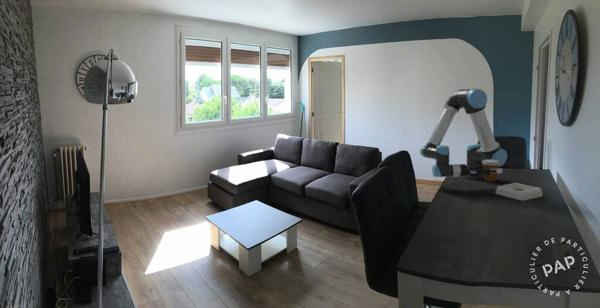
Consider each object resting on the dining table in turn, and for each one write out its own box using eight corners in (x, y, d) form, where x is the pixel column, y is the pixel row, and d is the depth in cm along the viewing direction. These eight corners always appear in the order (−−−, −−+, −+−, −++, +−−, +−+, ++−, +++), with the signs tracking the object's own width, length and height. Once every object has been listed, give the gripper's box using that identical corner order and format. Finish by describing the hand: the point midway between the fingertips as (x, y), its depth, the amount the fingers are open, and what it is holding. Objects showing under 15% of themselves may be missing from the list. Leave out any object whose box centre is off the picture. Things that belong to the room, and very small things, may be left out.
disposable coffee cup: (494, 177, 216) (495, 158, 214) (502, 181, 207) (502, 161, 205) (478, 178, 218) (479, 159, 216) (485, 182, 208) (485, 162, 206)
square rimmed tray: (514, 189, 207) (514, 182, 206) (542, 196, 193) (542, 188, 192) (495, 193, 201) (496, 186, 200) (522, 200, 186) (523, 192, 186)
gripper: (454, 172, 225) (492, 171, 221) (464, 180, 205) (506, 179, 201) (454, 161, 224) (492, 159, 220) (464, 168, 203) (506, 166, 200)
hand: (498, 169), depth 211 cm, fingers closed on disposable coffee cup, 8 cm apart
